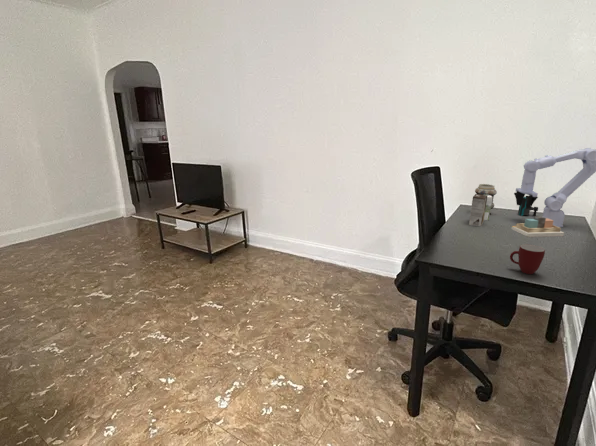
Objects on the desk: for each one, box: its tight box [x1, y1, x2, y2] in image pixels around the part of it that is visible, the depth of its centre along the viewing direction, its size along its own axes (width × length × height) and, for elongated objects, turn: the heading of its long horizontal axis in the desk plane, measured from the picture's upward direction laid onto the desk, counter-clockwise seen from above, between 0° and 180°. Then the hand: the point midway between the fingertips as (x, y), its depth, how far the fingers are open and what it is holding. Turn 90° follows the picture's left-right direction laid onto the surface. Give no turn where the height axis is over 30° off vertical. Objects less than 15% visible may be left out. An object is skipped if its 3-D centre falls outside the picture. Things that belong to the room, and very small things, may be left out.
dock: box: [511, 225, 565, 238], centre depth 177 cm, size 19×12×2 cm, turn 94°
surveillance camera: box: [517, 196, 539, 218], centre depth 206 cm, size 6×12×10 cm
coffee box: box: [468, 193, 488, 227], centre depth 190 cm, size 9×6×16 cm
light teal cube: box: [524, 218, 538, 228], centre depth 175 cm, size 4×4×4 cm
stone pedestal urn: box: [474, 183, 497, 216], centre depth 211 cm, size 12×12×18 cm
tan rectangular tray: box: [515, 215, 562, 233], centre depth 175 cm, size 17×9×6 cm, turn 94°
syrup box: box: [484, 195, 494, 221], centre depth 199 cm, size 6×6×14 cm
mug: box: [509, 244, 546, 275], centre depth 131 cm, size 10×8×10 cm
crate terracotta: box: [544, 218, 553, 228], centre depth 176 cm, size 4×4×4 cm
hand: (523, 206), depth 192 cm, fingers open, 7 cm apart
